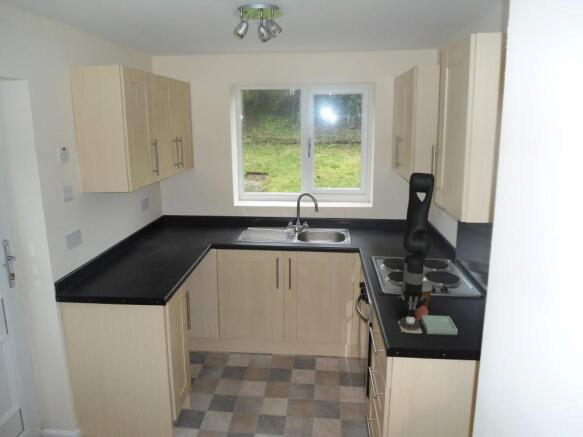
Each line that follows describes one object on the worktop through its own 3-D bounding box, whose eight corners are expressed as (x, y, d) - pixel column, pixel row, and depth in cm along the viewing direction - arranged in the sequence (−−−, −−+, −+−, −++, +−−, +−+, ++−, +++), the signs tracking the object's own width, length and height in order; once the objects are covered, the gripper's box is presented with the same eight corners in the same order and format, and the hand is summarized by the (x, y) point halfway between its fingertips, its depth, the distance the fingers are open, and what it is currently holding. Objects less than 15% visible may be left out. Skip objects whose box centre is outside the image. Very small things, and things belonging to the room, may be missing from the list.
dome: (404, 322, 207) (405, 313, 206) (413, 322, 207) (414, 314, 206) (406, 326, 203) (407, 317, 202) (415, 326, 203) (416, 318, 202)
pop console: (398, 323, 210) (398, 316, 209) (417, 323, 210) (418, 317, 209) (401, 332, 202) (402, 325, 201) (421, 333, 201) (422, 326, 200)
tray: (420, 319, 214) (421, 315, 213) (448, 321, 213) (449, 316, 212) (427, 333, 201) (427, 328, 200) (457, 335, 200) (457, 329, 200)
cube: (414, 315, 219) (415, 305, 217) (424, 315, 218) (425, 306, 217) (416, 320, 214) (417, 310, 213) (427, 320, 214) (428, 310, 212)
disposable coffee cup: (434, 306, 229) (436, 284, 226) (425, 312, 222) (427, 289, 219) (416, 300, 235) (418, 279, 232) (408, 306, 228) (410, 284, 225)
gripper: (427, 278, 203) (423, 313, 207) (397, 277, 204) (394, 311, 208) (431, 284, 196) (427, 320, 200) (400, 283, 196) (397, 319, 201)
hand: (410, 316), depth 204 cm, fingers closed
